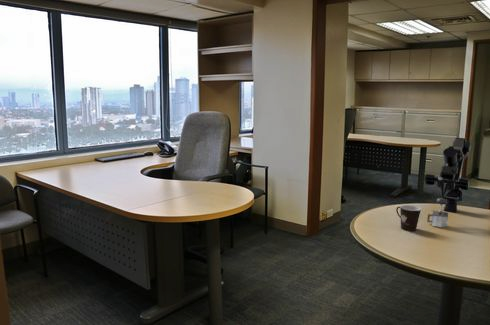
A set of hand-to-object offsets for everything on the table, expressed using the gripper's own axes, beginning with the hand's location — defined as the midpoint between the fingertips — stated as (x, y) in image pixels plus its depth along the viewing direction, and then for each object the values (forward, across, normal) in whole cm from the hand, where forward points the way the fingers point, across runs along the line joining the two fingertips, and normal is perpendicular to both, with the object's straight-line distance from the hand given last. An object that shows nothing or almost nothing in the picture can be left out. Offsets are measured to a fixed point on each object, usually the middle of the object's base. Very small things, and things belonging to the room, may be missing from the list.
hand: (442, 196), depth 185 cm
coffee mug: (+20, -11, 0) cm, 23 cm away
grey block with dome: (+11, 0, +9) cm, 14 cm away
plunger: (+7, 0, +6) cm, 9 cm away
